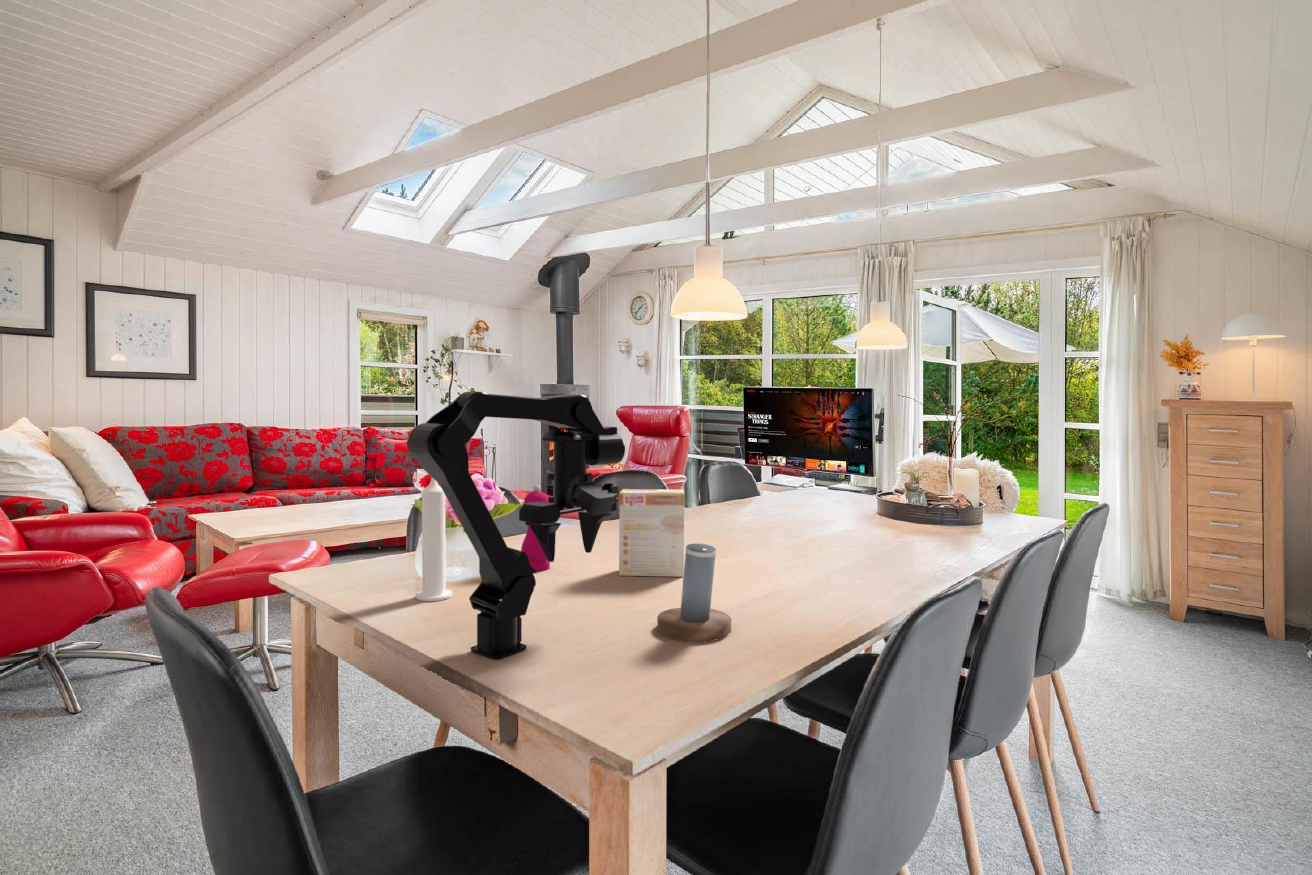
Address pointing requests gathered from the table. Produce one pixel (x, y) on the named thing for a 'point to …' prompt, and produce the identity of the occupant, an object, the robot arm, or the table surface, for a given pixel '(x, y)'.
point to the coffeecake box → (651, 532)
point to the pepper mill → (530, 541)
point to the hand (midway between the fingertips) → (570, 556)
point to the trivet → (693, 626)
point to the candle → (433, 545)
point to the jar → (697, 582)
